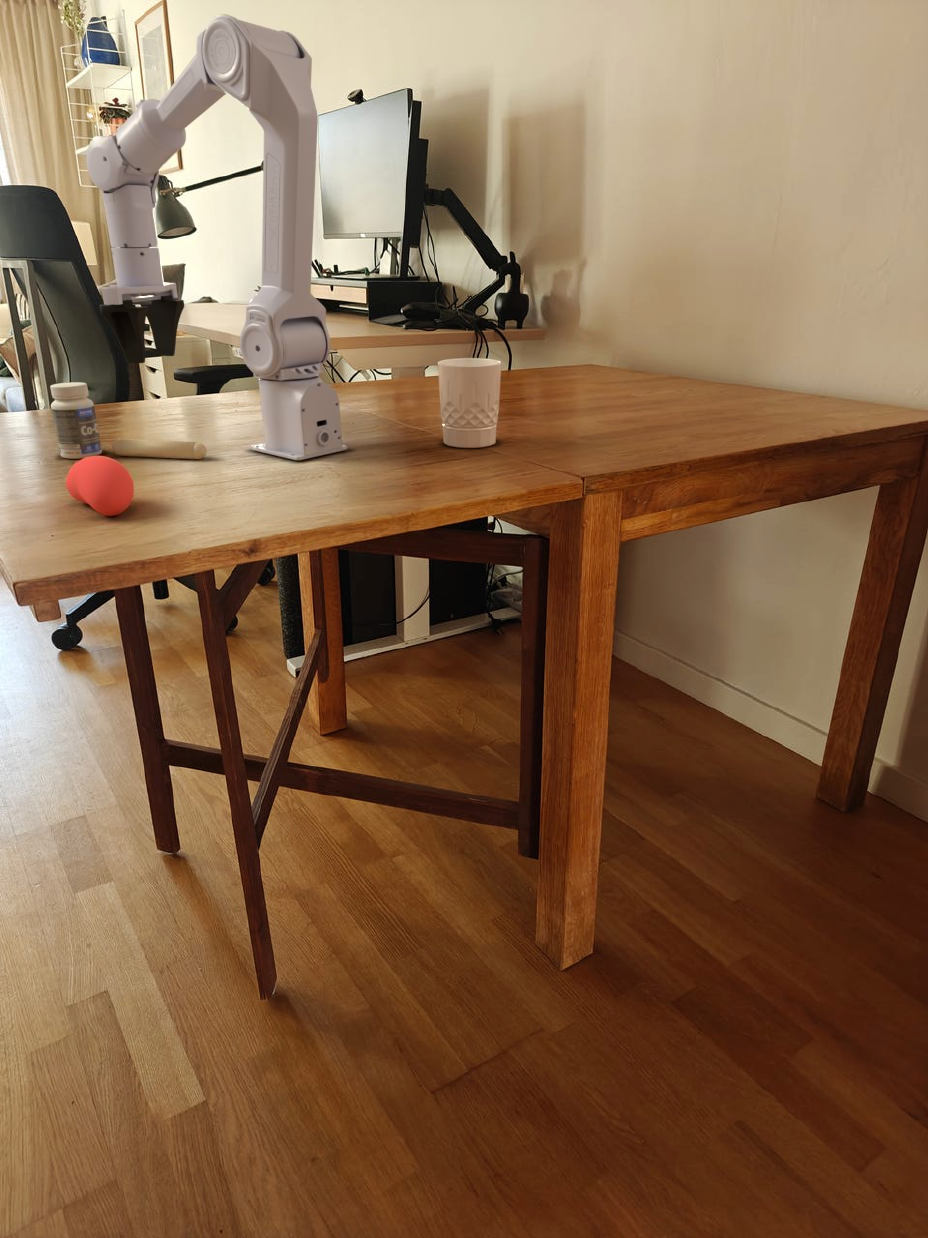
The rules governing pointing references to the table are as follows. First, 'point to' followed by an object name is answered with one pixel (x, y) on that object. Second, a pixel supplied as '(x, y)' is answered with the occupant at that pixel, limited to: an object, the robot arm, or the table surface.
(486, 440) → the white cup
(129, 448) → the dowel
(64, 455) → the pill bottle
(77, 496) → the stress ball
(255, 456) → the table surface
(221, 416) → the table surface
